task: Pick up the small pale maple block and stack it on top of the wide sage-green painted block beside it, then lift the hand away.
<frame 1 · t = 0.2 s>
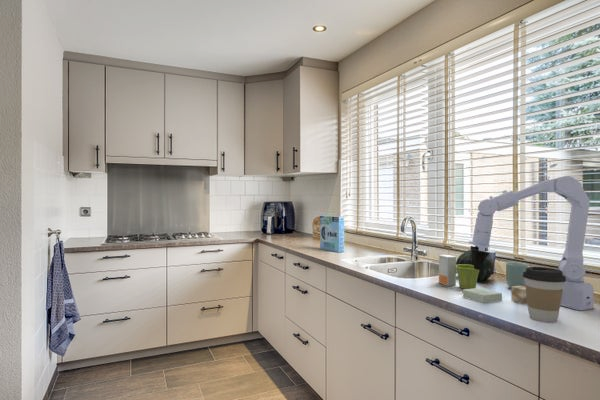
hand: (476, 267, 146), 10 cm above the worktop, tool pointing down, fingers open, 7 cm apart
coffee cup: (542, 319, 118), on the worktop
squash: (474, 279, 174), on the worktop
cup: (516, 288, 157), on the worktop
maple block: (521, 301, 138), on the worktop
plant pot: (467, 288, 157), on the worktop
gum box: (331, 250, 258), on the worktop
sage block: (482, 299, 141), on the worktop
skincare box: (447, 284, 163), on the worktop
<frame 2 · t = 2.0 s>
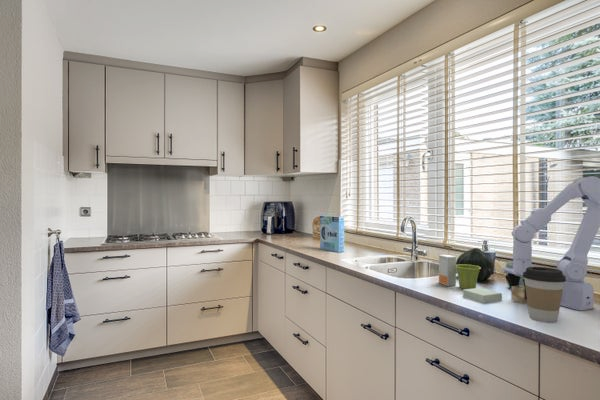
hand: (521, 297, 138), 1 cm above the worktop, tool pointing down, fingers closed on maple block, 4 cm apart
maple block: (521, 301, 138), on the worktop, touching gripper
everything else where it was.
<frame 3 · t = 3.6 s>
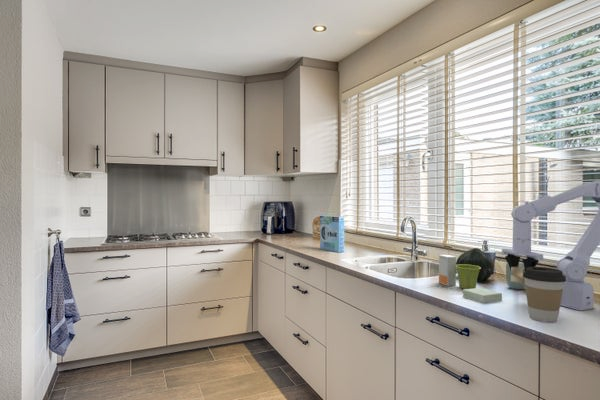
hand: (521, 277, 138), 8 cm above the worktop, tool pointing down, fingers closed on maple block, 4 cm apart
maple block: (520, 281, 138), point 7 cm above the worktop, touching gripper
everything else where it was.
when the fingers open (5 cm above the worktop, at t = 5.4 s): maple block drops 1 cm, point 2 cm above the worktop.
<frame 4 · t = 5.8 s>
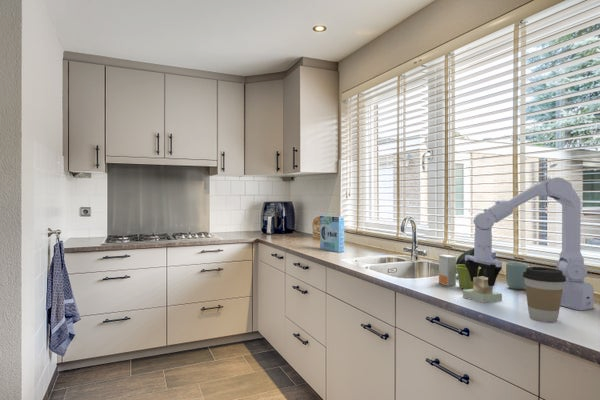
hand: (482, 283, 141), 5 cm above the worktop, tool pointing down, fingers open, 7 cm apart
maple block: (482, 291, 141), point 2 cm above the worktop
everything else where it was.
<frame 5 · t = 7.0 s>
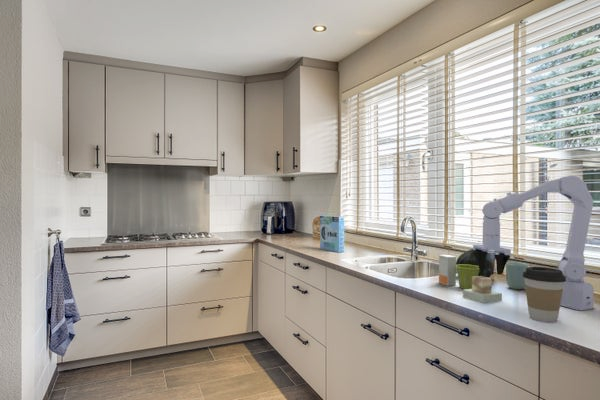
hand: (490, 272, 143), 9 cm above the worktop, tool pointing down, fingers open, 7 cm apart
nothing on the worktop moved.
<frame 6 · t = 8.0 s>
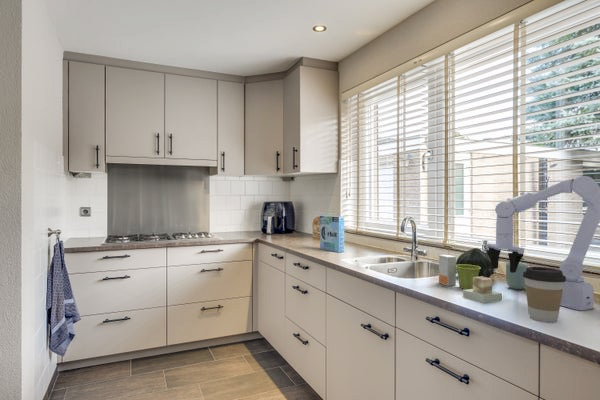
hand: (503, 270, 145), 9 cm above the worktop, tool pointing down, fingers open, 7 cm apart
maple block: (482, 291, 141), point 2 cm above the worktop, touching sage block
sage block: (482, 299, 141), on the worktop, touching maple block
everything else where it was.
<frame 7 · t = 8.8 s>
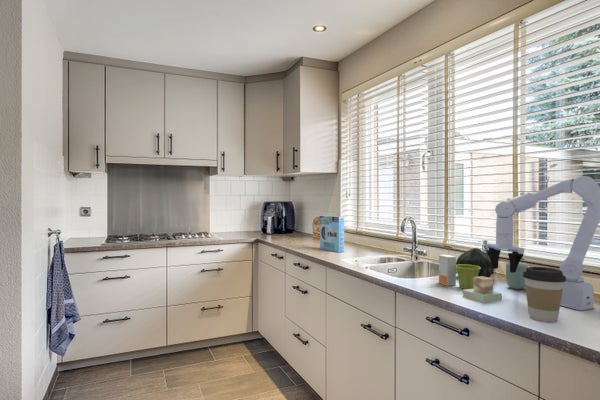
hand: (503, 270, 145), 9 cm above the worktop, tool pointing down, fingers open, 7 cm apart
maple block: (483, 291, 141), point 3 cm above the worktop
sage block: (482, 299, 141), on the worktop
everything else where it was.
at the end: maple block 0.4 cm off-centre on the sage block, point 3.0 cm above the sage block's base; maple block tilted 0°; the gripper is holding nothing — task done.
